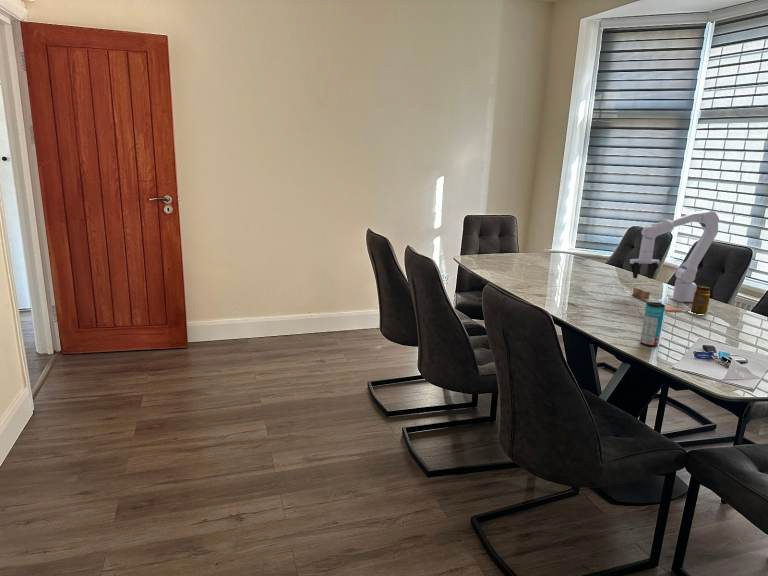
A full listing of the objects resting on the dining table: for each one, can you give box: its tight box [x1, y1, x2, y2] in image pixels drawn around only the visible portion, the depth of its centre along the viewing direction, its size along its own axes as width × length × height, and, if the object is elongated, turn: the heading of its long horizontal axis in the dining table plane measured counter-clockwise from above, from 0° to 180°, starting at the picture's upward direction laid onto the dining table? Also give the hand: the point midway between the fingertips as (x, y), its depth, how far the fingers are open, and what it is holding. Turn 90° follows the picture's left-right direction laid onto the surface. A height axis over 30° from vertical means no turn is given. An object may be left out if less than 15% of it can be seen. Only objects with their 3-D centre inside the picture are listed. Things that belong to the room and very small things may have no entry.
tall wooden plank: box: [632, 286, 663, 304], centre depth 256 cm, size 17×6×4 cm, turn 7°
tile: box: [664, 304, 683, 313], centre depth 239 cm, size 7×1×8 cm
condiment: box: [684, 285, 711, 316], centre depth 234 cm, size 7×8×12 cm
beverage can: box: [639, 302, 665, 348], centre depth 188 cm, size 6×6×15 cm
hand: (642, 278), depth 258 cm, fingers open, 7 cm apart
